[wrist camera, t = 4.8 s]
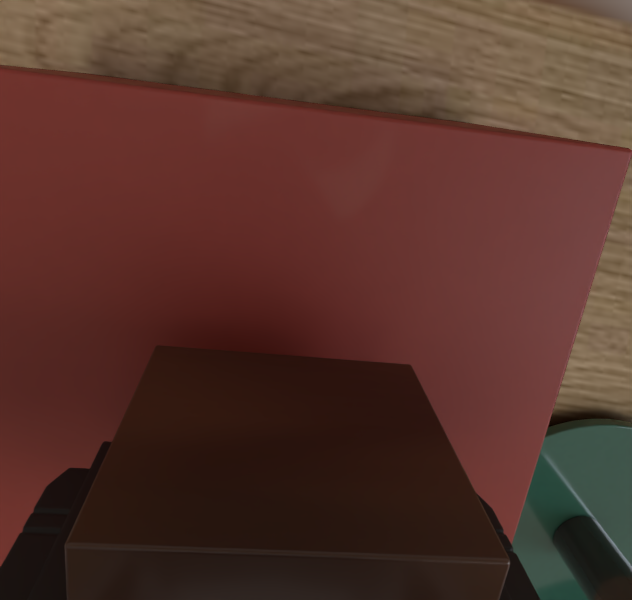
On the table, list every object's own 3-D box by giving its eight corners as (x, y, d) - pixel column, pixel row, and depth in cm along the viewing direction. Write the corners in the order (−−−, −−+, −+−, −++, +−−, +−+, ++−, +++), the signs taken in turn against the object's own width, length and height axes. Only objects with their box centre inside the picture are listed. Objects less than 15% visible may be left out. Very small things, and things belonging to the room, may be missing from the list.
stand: (470, 123, 21) (635, 149, 12) (404, 439, 26) (483, 640, 16) (82, 73, 19) (-94, 55, 10) (89, 421, 24) (-26, 632, 15)
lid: (720, 418, 27) (846, 509, 21) (638, 611, 31) (723, 731, 25) (473, 402, 25) (534, 495, 19) (422, 606, 29) (460, 732, 24)
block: (411, 363, 11) (513, 561, 6) (372, 557, 13) (431, 825, 8) (155, 343, 11) (63, 545, 6) (150, 549, 12) (75, 832, 8)
